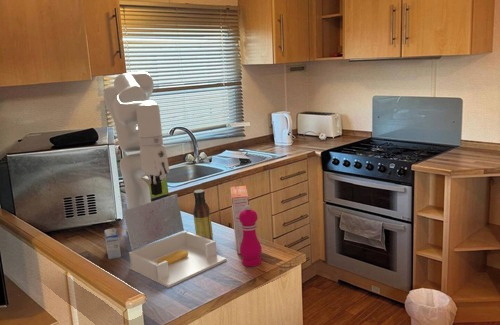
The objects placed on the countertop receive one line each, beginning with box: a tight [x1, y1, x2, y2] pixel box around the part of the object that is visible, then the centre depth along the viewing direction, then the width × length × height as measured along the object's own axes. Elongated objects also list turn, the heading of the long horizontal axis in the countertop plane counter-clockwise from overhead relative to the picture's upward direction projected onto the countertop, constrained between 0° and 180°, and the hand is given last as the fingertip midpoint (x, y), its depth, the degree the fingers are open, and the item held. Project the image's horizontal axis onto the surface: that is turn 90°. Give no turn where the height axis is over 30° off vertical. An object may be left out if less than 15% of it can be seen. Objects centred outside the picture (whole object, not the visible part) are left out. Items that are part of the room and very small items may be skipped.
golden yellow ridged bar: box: [157, 250, 188, 265], centre depth 162 cm, size 4×11×2 cm, turn 135°
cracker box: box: [230, 185, 250, 255], centre depth 169 cm, size 14×6×21 cm, turn 4°
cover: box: [123, 193, 185, 251], centre depth 165 cm, size 14×22×1 cm
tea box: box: [141, 175, 170, 202], centre depth 230 cm, size 15×10×15 cm
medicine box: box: [103, 227, 122, 260], centre depth 172 cm, size 8×4×9 cm, turn 21°
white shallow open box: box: [128, 230, 227, 288], centre depth 160 cm, size 22×24×6 cm
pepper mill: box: [239, 204, 263, 267], centre depth 156 cm, size 7×7×20 cm
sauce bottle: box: [192, 189, 214, 241], centre depth 177 cm, size 7×6×20 cm
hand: (157, 194), depth 161 cm, fingers closed
